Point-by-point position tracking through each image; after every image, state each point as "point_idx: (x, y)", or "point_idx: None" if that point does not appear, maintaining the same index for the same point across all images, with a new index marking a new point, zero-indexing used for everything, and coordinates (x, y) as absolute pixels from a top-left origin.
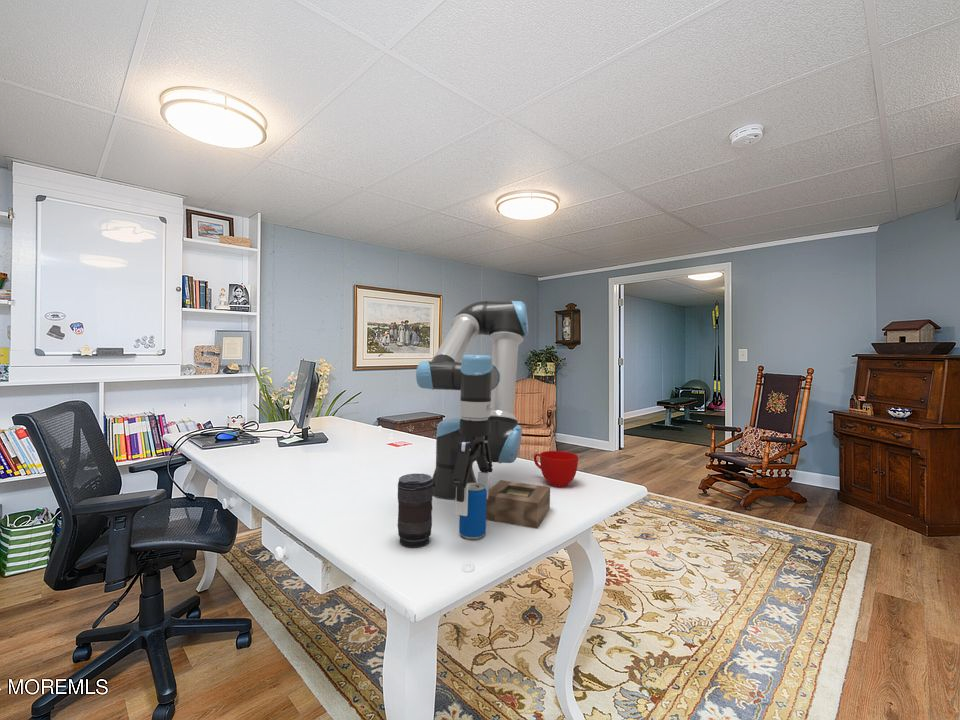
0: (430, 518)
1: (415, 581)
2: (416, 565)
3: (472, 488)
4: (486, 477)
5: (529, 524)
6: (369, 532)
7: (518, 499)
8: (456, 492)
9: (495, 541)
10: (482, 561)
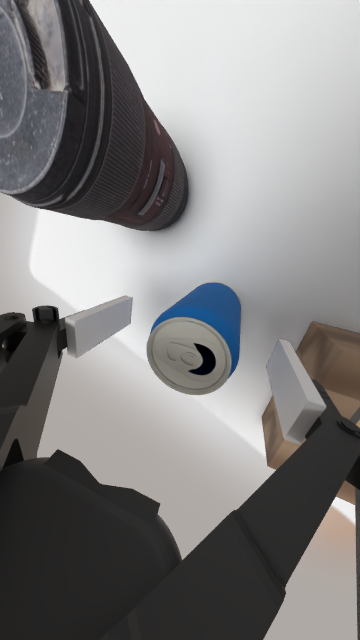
0: (130, 226)
1: (57, 253)
2: (87, 238)
3: (173, 353)
4: (282, 417)
5: (267, 411)
6: (177, 17)
7: None
8: (83, 312)
9: None
10: (128, 330)
